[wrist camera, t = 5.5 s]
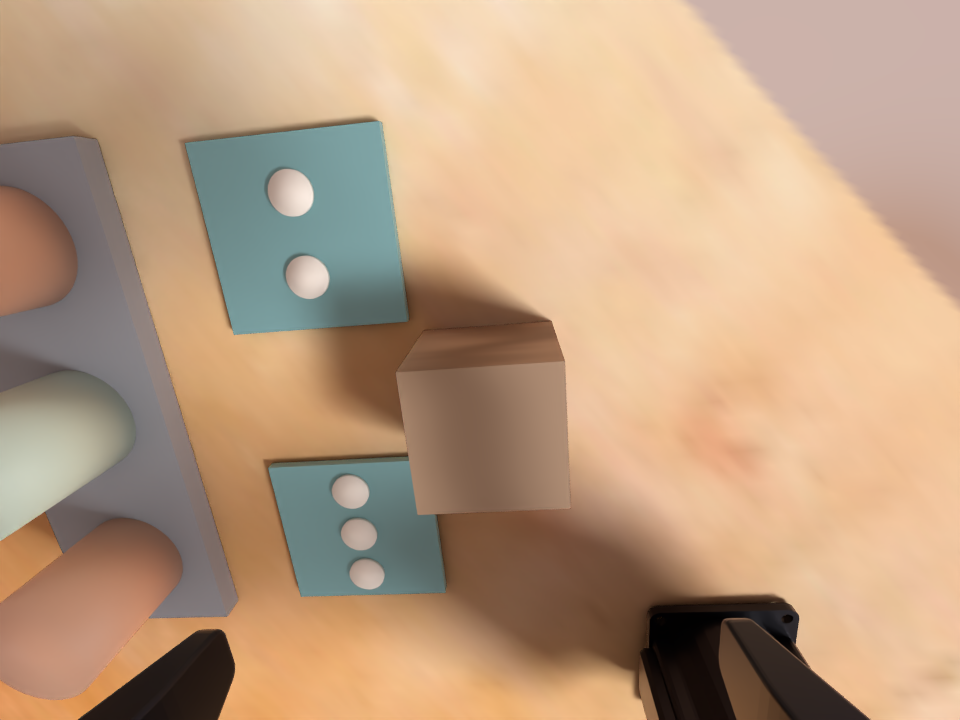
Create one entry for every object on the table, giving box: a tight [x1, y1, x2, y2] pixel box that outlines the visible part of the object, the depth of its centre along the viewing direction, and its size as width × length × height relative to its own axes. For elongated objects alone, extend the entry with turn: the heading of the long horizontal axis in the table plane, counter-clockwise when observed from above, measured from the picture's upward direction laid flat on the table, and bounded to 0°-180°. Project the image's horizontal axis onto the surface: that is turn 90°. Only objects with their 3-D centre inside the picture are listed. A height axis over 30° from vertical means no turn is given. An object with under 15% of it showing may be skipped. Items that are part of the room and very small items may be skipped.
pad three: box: [268, 456, 447, 597], centre depth 22 cm, size 7×7×1 cm
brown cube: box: [396, 321, 571, 515], centre depth 17 cm, size 5×5×5 cm
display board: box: [0, 136, 238, 700], centre depth 18 cm, size 7×21×6 cm, turn 5°
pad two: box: [185, 121, 409, 335], centre depth 18 cm, size 7×7×1 cm
